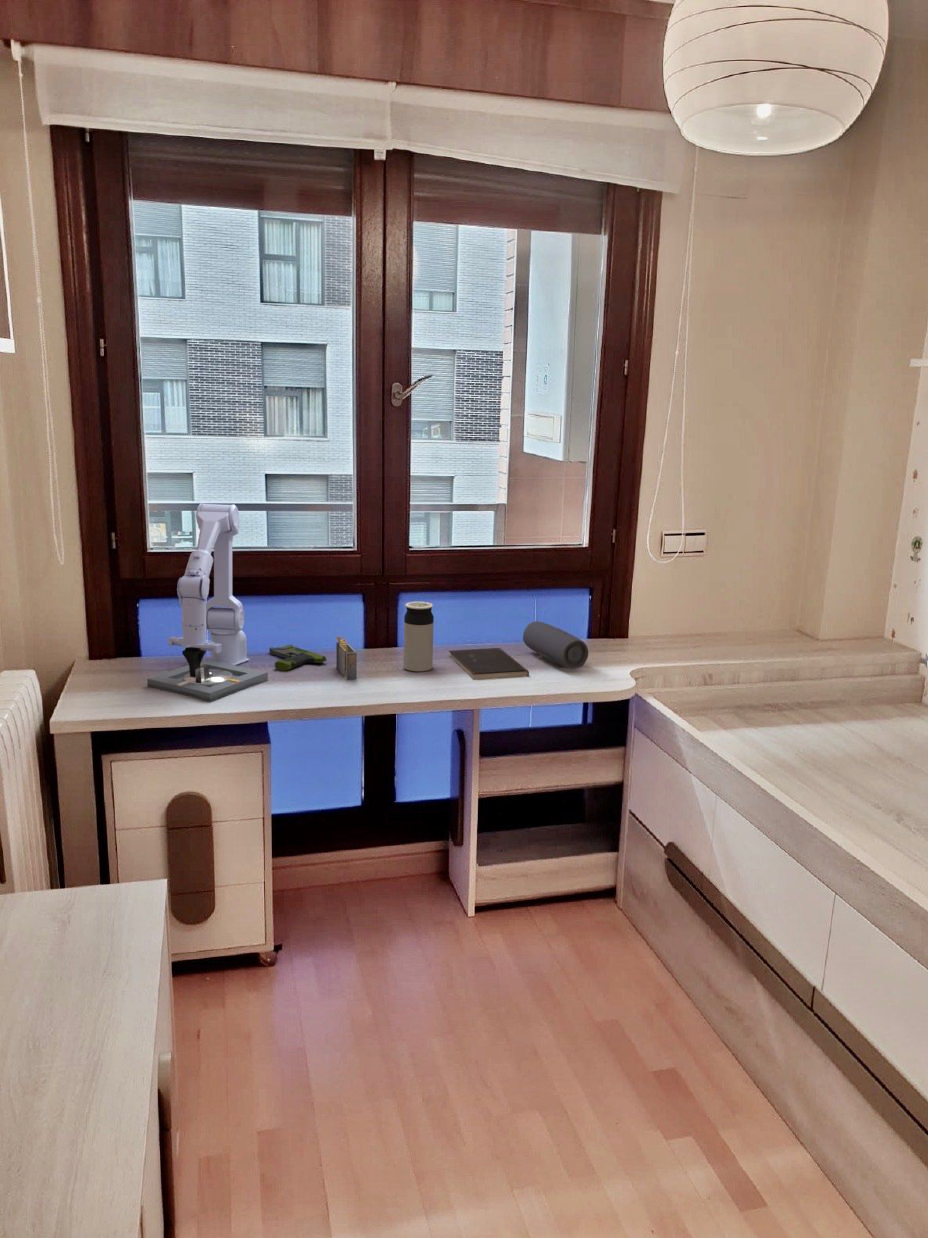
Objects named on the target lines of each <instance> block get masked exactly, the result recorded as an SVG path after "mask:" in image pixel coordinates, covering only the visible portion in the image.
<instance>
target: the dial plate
mask: <svg viewBox="0 0 928 1238" xmlns="http://www.w3.org/2000/svg"><path fill="white" fill-rule="evenodd" d="M203 664H208V665H209V669H218V670H225V671H228V672H231V673H232V675H233V679H229V680H228V681H225V682H222V683H219V684H217V685H214V686H210V687H207V686H203V685H198V684H194V683H190V682H187V681H184V676H185V675H186V674H188V673H190V671H189V664H188V665H185V666H182V667H178V668H176V669H173V670H170V671H169V670H168V671H167V672H164V673H161V674H156V675H154V676H151V677H148V678H146V684H147V685H146V686H147V688H150V689H155V690H158V691H159V690H160V691H163V692H168V693H172V694H174V695H175V694H176V695H180V696H184V697H187V698H192V699H196V700H201V701H205V702H209V703H211V702H215V701H216V700H220V699H222V698H225V697H228V696H230V695H233V694H235V693H238V692H241V691H243V690H246V689H249V688H251V687H253V686H254V687H255V686H257V685H259V684H262V683H265V682H267V681H268V677H269V676H268V672H267V671H264V670H263V671H262V670H259V669H254V668H250V667H244V666H241V665H231V664H226V663H222V662H217V661H212V659H208V658H207V659H202V661H201V664H200V666H202V665H203Z"/></svg>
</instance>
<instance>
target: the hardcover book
mask: <svg viewBox="0 0 928 1238" xmlns="http://www.w3.org/2000/svg"><path fill="white" fill-rule="evenodd" d="M448 653H450V658H451V659H453V660H454V661H455V663H457V664H458V666H459V667H461V668H462V670H463V671H464V672H466V673H467V674H468V675H469V676H470V677H471V678H472V679H473V680H481V679H482V680H483V679H485V680H486V679H502V678H504V679H505V678H516V677H517V678H519V677H529V676H530V671H529V670H528V669H527V668H526V667H524V666H523V665H522V664H520V662H518V661H517V660H516V659H515V658H513V657H512V656H511V655H509V654H508V653H507V652H506V651H505V650H503V649H502V648H501V647H494V648H493V647H491V648H472V649H454V650H449V651H448Z"/></svg>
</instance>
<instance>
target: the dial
mask: <svg viewBox="0 0 928 1238" xmlns="http://www.w3.org/2000/svg"><path fill="white" fill-rule="evenodd" d="M195 674H196V677H195V678H193V677H190V673H188V674H186V675H185V676H184V681H187V682H190V683H194V684H198V685H203V686H207V687H210V686H214V685H217V684H219V683H222V682H225V681H228V680H229V679H233V675H232V673H231V672H228V671H225V670H218V669H209V665H208V664H203V665H202V666H200V667H199V668H197V669H196V670H195Z"/></svg>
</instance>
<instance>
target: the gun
mask: <svg viewBox="0 0 928 1238" xmlns="http://www.w3.org/2000/svg"><path fill="white" fill-rule="evenodd" d="M268 650H269V655H275V656H276V657H277V656H278V657H280V658H284V659H279V660H277V661H276V662H275V663H274V667H275V669H276V670H277V671H287V670H292V669H293V668H297V667H298V666H301V665H303V664H304V663H315V664H316V663H317V664H322V663H323V664H324V662H327V659H328V658H327V657H326V656H324V655H321V654H318V653H316V652H312V651H309V650H306V649H303V648H299V647H297V646H294V645H293V644H288V645H285V646H284V645H283V646H279V647H278V646H277V647H272V646H271V647H269V649H268Z"/></svg>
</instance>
